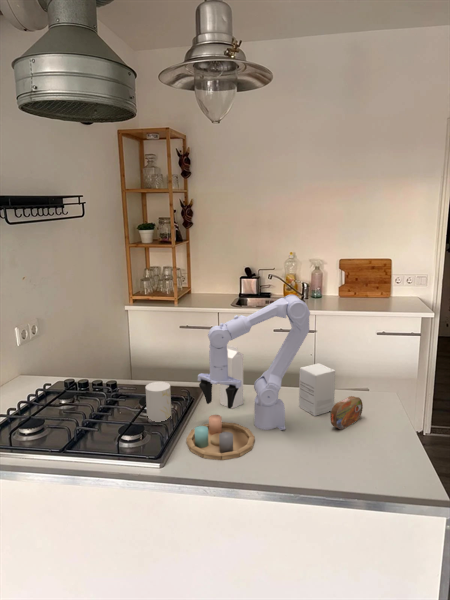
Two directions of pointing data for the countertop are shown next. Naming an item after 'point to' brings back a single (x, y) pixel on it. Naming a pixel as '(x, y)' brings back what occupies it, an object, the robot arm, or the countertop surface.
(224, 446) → the bead charcoal
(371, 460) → the countertop surface
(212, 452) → the tray
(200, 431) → the bead teal
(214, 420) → the bead terracotta
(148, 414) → the white cylinder
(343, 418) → the tin
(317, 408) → the supplement box
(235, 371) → the milk
